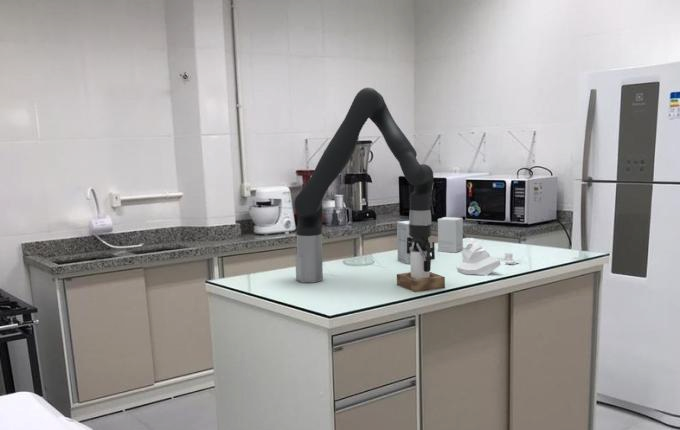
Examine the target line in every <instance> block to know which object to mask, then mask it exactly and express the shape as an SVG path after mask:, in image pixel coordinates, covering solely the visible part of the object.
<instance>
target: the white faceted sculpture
mask: <svg viewBox="0 0 680 430" xmlns="http://www.w3.org/2000/svg"><path fill="white" fill-rule="evenodd" d="M461 255H462V262H461V263H460V264H459V265H457V266H456V270H457V272H458V273H461V274H464V275H479V276H486V275H487V276H488V275H489V274H491V273H492V272H494V270H496V269H498V268H499V267H500V266H501V265H502V264H501V263H500V261H501V260H500V259H497V258H496V257H495V258H494V257H491V256H490V253H489V252H488V251H487V250H485V248H483V245H480V244H479V242H478V239H476V238H473V237H471V238H470V239H469V240H468V243H467V244H466V246H465V248H463V250H461Z"/></svg>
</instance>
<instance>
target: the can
mask: <svg viewBox="0 0 680 430" xmlns="http://www.w3.org/2000/svg"><path fill="white" fill-rule="evenodd" d="M426 251H427V250H426ZM426 251H424V252H426ZM426 257H427V255H426ZM410 260H411V264H410V272H411V277H413V278H416V279H421V278H428V277H430V272H431V271H429V272H425V271H424V258H423V256H422V255H421V254H420V252H418V251H415V249H414V251H413V250H412V253H411V255H410Z"/></svg>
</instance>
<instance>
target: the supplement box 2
mask: <svg viewBox="0 0 680 430" xmlns="http://www.w3.org/2000/svg"><path fill="white" fill-rule="evenodd" d="M463 222H464V219H463V217H455V216H454V217H449V216H444V217H441V218H438V219H437V248H438V249H437V252H441V253H442V252H445V253H455V254H456V253H458V252H462V250H464V241H463V239H464V236H463V235H464V232H463V231H464V230H463V229H464V227H463V226H464V225H463V224H464V223H463Z"/></svg>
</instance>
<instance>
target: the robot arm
mask: <svg viewBox="0 0 680 430" xmlns="http://www.w3.org/2000/svg"><path fill="white" fill-rule="evenodd" d="M368 119H369V120H370V121H371V122H372V123H374V125H375V126H376V127H377V128H378V130H379V132H380V133H381V134H382V137H383V139H384V141H385V144H386V145H387V147H388V149H389V150H390V152H391V153H392V155H393V156H394V158H395V159H396V161H397V162H398V164H399V166H400V169H401V171H402V174H403V175H404V178H405V179H406V180H407V182H408V183H409V184H410V185H412V186H414V189H413V192H412V193H411V194H410V196H409V217H408V221H409V236H410V237H407V254H409V256H410V255H411V253H412V250H413V251H414V249H415V251H418V252H420V254H421V255H422V256H423V258H424V271H425V272H431V268H432V267H431V262H432V261H433V260H435V259H436V255H435V254H436V252H435V242H434V241H429V238H431V236H432V212H431V196H432V191H433V185H434V172H433V169H432V167H431V166H430V165H428V164H426V163H425V164H423V163H422V164H420V163H419V161H418V159H417V150H416V149H415V148H414V146H413V145H412V144H411V142H410V140H409V139H408V138H407V136H406V135H405V134H404V132H403V131H402V130H401V128H400V127H399V125H398V124H397V122H396V121H395V119H394V118H393V116H392V114H391V113H390V110H389V108H388V106H387V104H386V101H385V99H384V96H383V95H382V94H381V93H380V92H378V91H377V90H375V88H373V87H364V88H362V89H360V90H359V91H358V92H357V94H356V95H355V96H354V99H353V101H352V102H351V105H350V106H349V109H348V111H347V114H346V115H345V117H344V118H343V121H342V122H341V124H340V125H339V127H338V128H337V130H336V132H335V134H334V135H333V137H332V139H331V140H330V142H329V143H328V144H327V146H326V148H325V149H324V151H323V153H322V155H321V156H320V158H319V161H318V162H317V165H316V166H315V169H314V170H313V173H312V175H311V177H310V178H309V179H308V181H307V183H306V184H305V185H304V186H303V188H302V189H301V191H299V193H297V195H296V196H295V198H294V204H293V205H294V210H295V212H296V213H297V224H296V228H295V229H296V254H295V256H294V257H295V280H297V281H298V282H299V283H317V282H321V281H323V280H324V276H323V275H324V273H323V271H324V270H323V268H324V267H323V266H324V265H323V237H322V236H323V235H322V234H323V233H322V231H323V229H322V228H323V199H324V196H325V195H326V193H327V191H328V189H329V187H330V186H331V185H332V184H333V182H334V181H335V180H336V179H337V178H338V176H340V174H341V173H342V172H343V170H345V169H344V168H346V166H347V164H348V163H349V161H350V160H351V158H352V156H353V154H354V153H355V150H356V147H357V144H358V140H359V137H360V133H361V131H362V129H363V127H364V125H365V124H366V123H367V121H368ZM410 247H411V249H410ZM426 250H427V251H426ZM424 251H426V252H424ZM426 255H427V257H426Z"/></svg>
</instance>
